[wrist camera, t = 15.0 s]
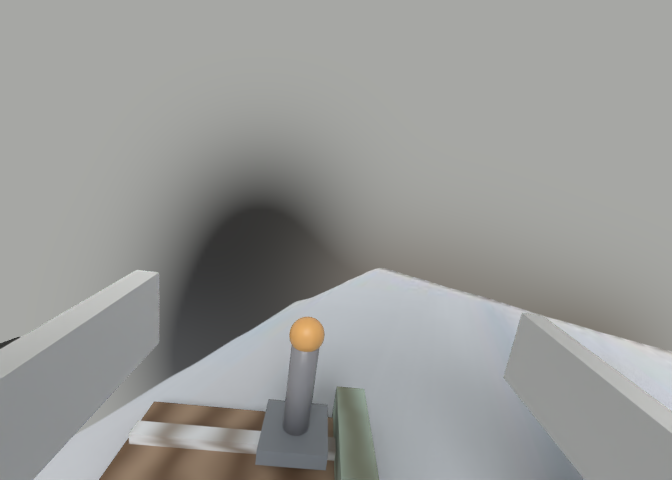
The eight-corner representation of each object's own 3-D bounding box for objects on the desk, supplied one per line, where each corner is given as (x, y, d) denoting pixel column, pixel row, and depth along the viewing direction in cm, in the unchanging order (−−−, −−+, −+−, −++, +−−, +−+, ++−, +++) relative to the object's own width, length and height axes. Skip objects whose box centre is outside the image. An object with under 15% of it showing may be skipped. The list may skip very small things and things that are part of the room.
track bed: (362, 423, 49) (368, 389, 48) (376, 524, 36) (385, 480, 34) (157, 405, 48) (157, 369, 46) (90, 504, 34) (87, 457, 33)
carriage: (324, 423, 46) (342, 307, 41) (324, 477, 38) (346, 341, 34) (266, 417, 45) (278, 300, 41) (254, 471, 37) (267, 333, 33)
